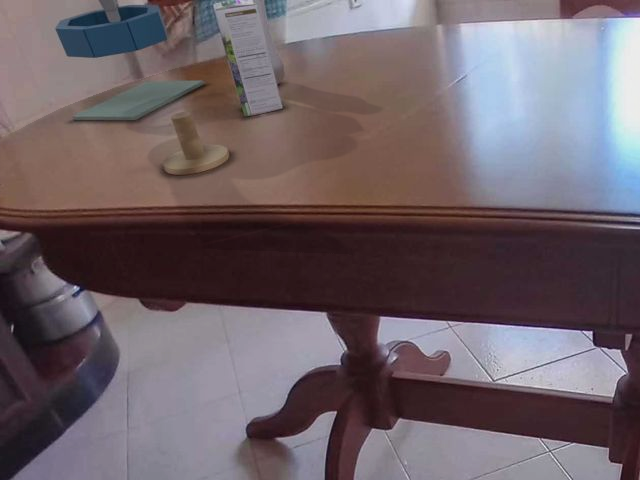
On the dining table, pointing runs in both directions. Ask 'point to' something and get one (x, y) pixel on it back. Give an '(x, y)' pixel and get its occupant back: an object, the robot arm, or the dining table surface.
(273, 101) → the syrup box
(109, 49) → the blue ring
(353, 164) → the dining table surface
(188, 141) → the dowel stand
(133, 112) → the rubber mat
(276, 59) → the plastic bottle
